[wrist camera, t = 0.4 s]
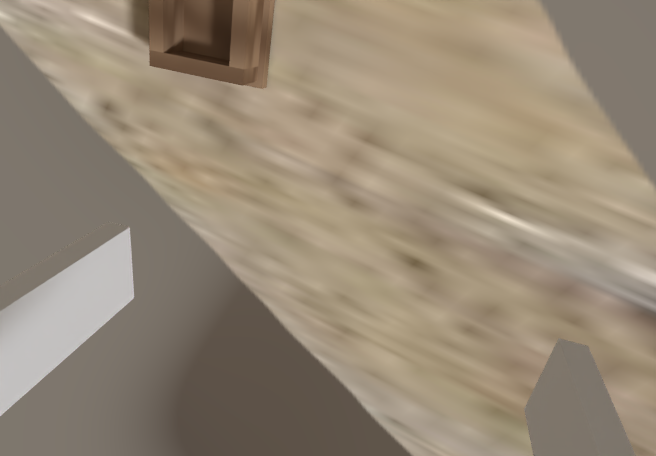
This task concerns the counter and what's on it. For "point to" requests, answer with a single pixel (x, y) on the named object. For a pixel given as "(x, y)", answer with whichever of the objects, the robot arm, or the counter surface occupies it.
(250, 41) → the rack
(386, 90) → the counter surface
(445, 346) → the counter surface
